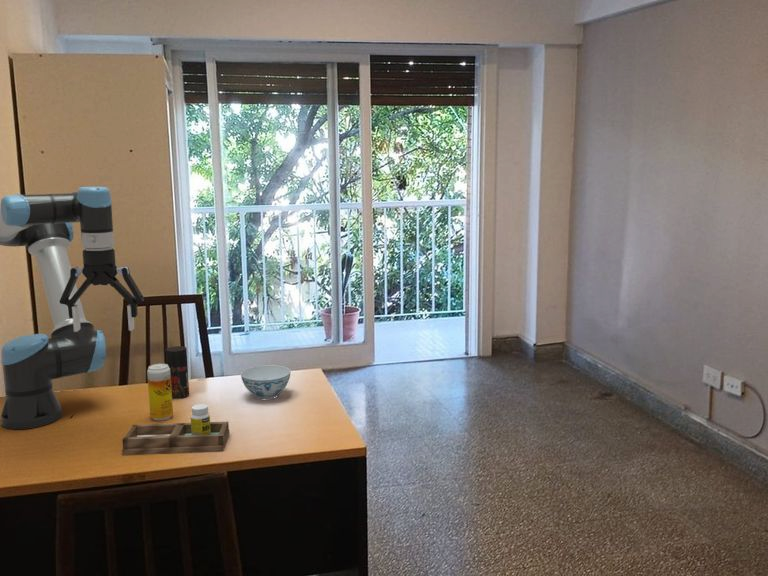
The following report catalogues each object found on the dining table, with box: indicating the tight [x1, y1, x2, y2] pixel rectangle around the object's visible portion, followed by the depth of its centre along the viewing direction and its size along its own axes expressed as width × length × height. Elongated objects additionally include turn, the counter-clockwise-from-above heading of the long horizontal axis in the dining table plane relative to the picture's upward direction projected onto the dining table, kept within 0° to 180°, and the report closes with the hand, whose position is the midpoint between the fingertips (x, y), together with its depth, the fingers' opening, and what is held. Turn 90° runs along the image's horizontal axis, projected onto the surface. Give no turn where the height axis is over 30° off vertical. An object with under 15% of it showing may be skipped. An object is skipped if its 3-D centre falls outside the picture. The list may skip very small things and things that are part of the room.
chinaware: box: [240, 364, 291, 400], centre depth 205 cm, size 15×15×8 cm
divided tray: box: [121, 421, 230, 456], centre depth 170 cm, size 24×11×4 cm, turn 95°
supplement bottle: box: [190, 403, 211, 435], centre depth 170 cm, size 5×5×8 cm
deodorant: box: [165, 345, 190, 400], centre depth 205 cm, size 6×6×15 cm
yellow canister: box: [146, 363, 174, 422], centre depth 187 cm, size 6×6×15 cm
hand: (104, 330), depth 173 cm, fingers open, 13 cm apart
